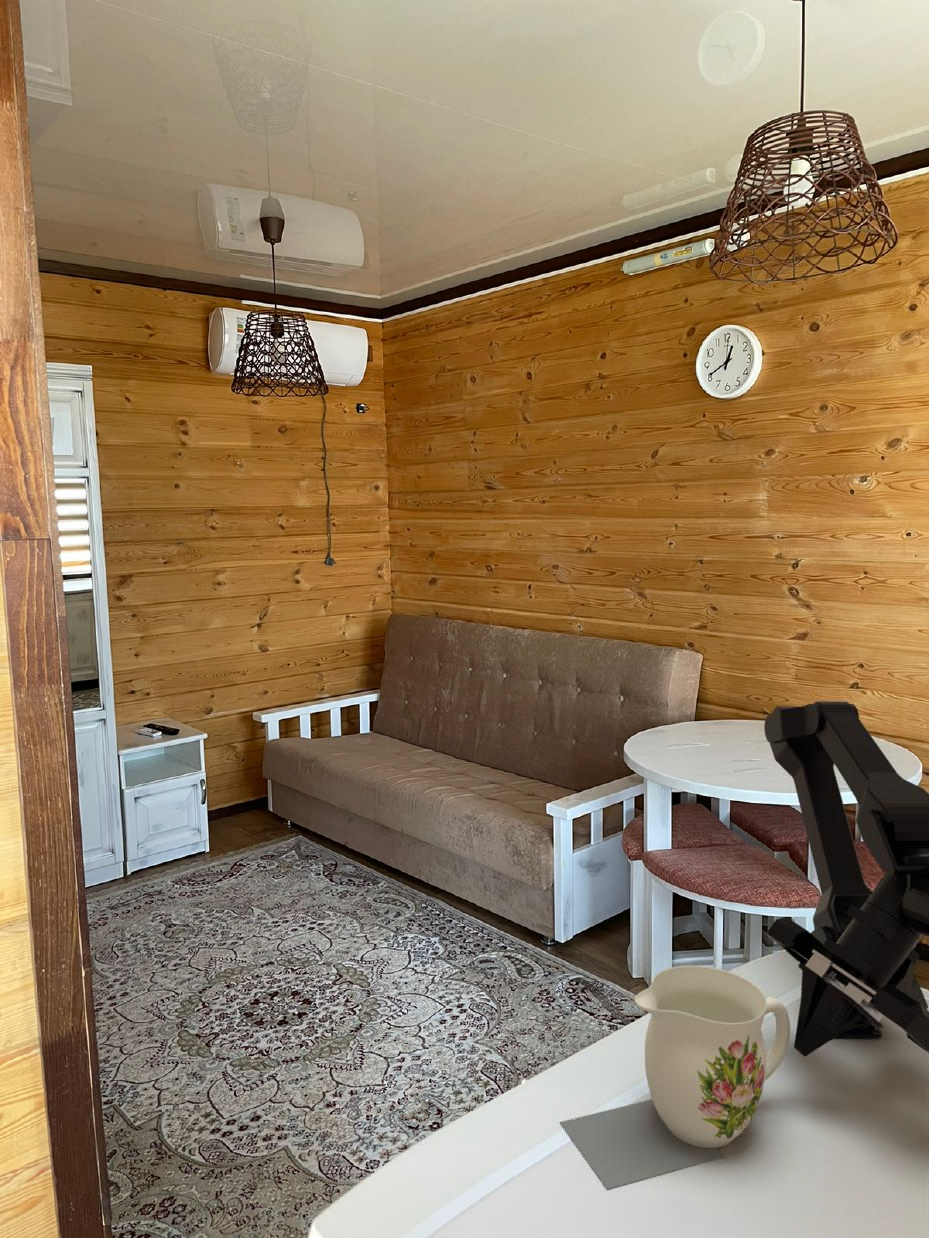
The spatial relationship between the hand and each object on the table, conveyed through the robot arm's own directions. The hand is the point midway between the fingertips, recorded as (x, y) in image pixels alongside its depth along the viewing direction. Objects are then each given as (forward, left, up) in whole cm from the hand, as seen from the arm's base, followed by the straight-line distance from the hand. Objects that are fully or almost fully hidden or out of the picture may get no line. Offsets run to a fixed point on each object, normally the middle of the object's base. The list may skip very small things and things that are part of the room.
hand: (799, 1052), depth 89 cm
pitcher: (+9, +2, -6) cm, 11 cm away
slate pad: (+16, +5, -6) cm, 18 cm away
